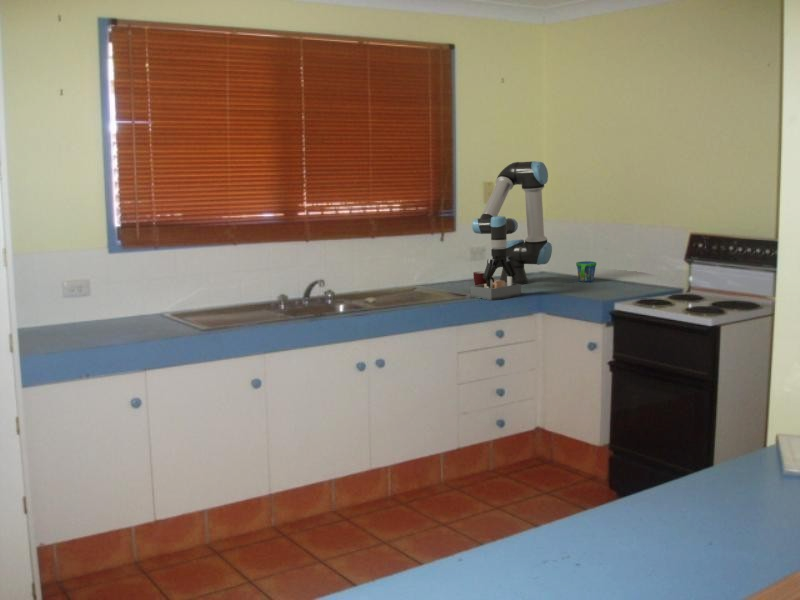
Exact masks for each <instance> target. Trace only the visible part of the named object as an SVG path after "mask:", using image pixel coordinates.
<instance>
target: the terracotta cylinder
mask: <svg viewBox="0 0 800 600" xmlns="http://www.w3.org/2000/svg"><path fill="white" fill-rule="evenodd" d="M494 285H495V288H498V287H504V286H505V280H500V279H497V280H495V279H494Z"/></svg>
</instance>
